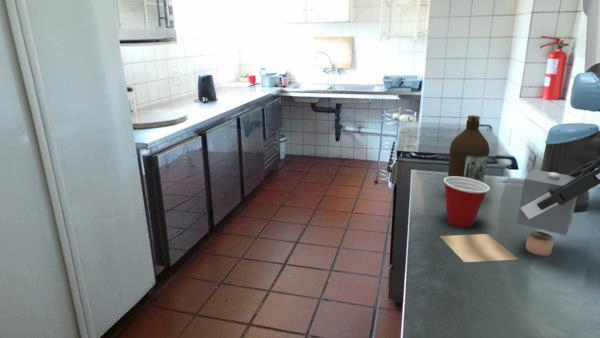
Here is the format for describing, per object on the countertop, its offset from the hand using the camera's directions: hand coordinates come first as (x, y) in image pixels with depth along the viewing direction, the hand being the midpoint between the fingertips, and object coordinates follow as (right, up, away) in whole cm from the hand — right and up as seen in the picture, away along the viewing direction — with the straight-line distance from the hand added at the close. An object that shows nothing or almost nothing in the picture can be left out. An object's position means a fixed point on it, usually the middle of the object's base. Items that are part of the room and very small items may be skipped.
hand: (529, 206), depth 89 cm
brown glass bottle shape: (-1, -1, +34) cm, 34 cm away
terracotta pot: (+3, -11, +2) cm, 11 cm away
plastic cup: (-9, -7, +16) cm, 19 cm away
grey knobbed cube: (+2, -3, -1) cm, 4 cm away
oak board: (-11, -10, +3) cm, 15 cm away
